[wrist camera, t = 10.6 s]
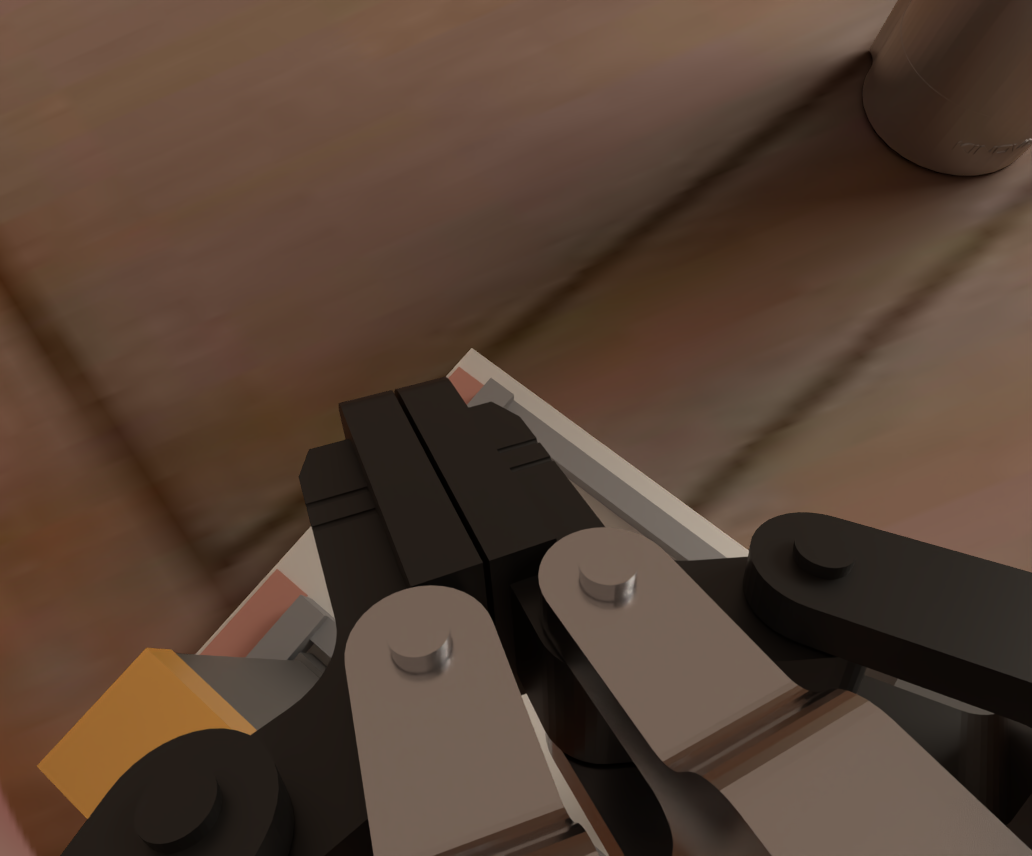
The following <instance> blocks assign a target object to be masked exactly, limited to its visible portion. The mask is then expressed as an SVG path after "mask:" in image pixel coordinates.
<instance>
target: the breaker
mask: <svg viewBox="0 0 1032 856" xmlns="http://www.w3.org/2000/svg"><path fill="white" fill-rule="evenodd" d="M326 668H327V666H326V665H325V664H324V663H322V662H321V661H320V660H319V659H318V658H317V657H316V656H315V655H313V654H311V653H301V652H300V653H299V654H298V655H297V656H296V657H295V659H294V660H277V659H261V658H245V657H228V656H212V655H195V654H179V653H175V652H174V651H172V650H170V649H156V648H146V649H145V650H144V651H143V652H142V653H141V654H140V655H139V656H138V657H137V659H136V660H135V661H134V662H133V663H132V664H131V665H130V666H129V667H128V668H127V669H126V670H125V671H124V673H123V674H122V675H121V676H120V677H119V678H118V679H117V680H116V681H115V682H114V683H113V684H112V685H111V687H110V688H109V689H108V690H107V691H106V692H105V693H104V694H103V695H102V696H101V697H100V698H99V700H98V701H97V702H96V703H95V704H94V705H93V706H92V707H91V708H90V709H89V710H88V711H87V712H86V714H85V715H84V716H83V717H82V718H81V719H80V720H79V721H78V722H77V723H76V724H75V725H74V726H73V728H72V729H71V730H70V731H69V732H68V733H67V734H66V735H65V736H64V737H63V738H62V739H61V740H60V742H59V743H58V744H57V745H56V746H55V747H54V748H53V749H52V750H51V751H50V752H49V753H48V754H47V756H46V757H45V758H44V759H43V760H42V761H41V762H40V763H39V764H38V765H37V767H38V768H39V769H40V770H41V771H42V772H43V773H44V774H45V775H46V776H47V778H48V779H49V780H50V781H51V782H52V783H53V784H54V785H55V786H56V787H57V788H58V789H59V790H60V791H61V792H62V793H63V794H64V795H65V796H66V797H67V798H68V800H69V801H70V802H71V803H72V804H73V805H74V806H75V807H76V808H77V809H78V810H79V811H80V812H81V813H82V814H83V815H84V816H85V817H86V818H87V819H88V818H89V817H90V815H91V814H92V812H93V811H94V810H95V808H96V807H97V806H98V804H99V803H100V802H101V800H102V799H103V798H104V796H105V795H106V794H107V792H108V791H109V790H110V789H111V787H112V786H113V785H114V784H115V783H116V781H117V780H118V779H119V778H120V777H121V776H122V775H123V774H124V773H125V772H126V771H127V770H128V769H129V768H130V767H131V766H132V765H133V764H134V763H136V762H137V761H138V760H140V759H141V758H142V757H144V756H145V755H146V754H147V753H149V752H150V751H152V750H154V749H155V748H157V747H159V746H160V745H162V744H164V743H166V742H168V741H170V740H172V739H174V738H176V737H179V736H182V735H185V734H188V733H191V732H194V731H199V730H205V729H216V728H225V729H232V730H238V731H240V732H243V733H246V734H248V735H251V734H253V733H254V732H256V731H257V730H258V729H260V728H261V727H263V726H264V725H266V724H267V723H269V722H270V721H271V720H273V719H274V718H276V717H277V716H279V715H280V714H281V713H283V712H284V711H286V710H287V709H289V708H290V707H291V706H292V705H294V704H295V703H296V702H297V701H299V700H300V699H301V698H302V697H303V696H304V695H305V694H306V693H307V692H308V691H309V690H310V689H311V688H312V687H313V686H314V685H315V683H316V682H317V681H318V680H319V678H320V677H321V676H322V674H323V673H324V671H325V669H326Z"/></svg>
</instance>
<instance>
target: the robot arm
mask: <svg viewBox="0 0 1032 856" xmlns="http://www.w3.org/2000/svg"><path fill="white" fill-rule="evenodd" d="M870 52H871V55H872V59H873V63H872V66H871V68H870V70H869V72H868V74H867V76H866V77H865V81H864V86H863V91H862V93H863V105H864V108H865V111H866V114H867V117H868V120H869V121H870V123H871V124H872V126H873V128H874V129H875V131H876V133H877V134H878V135H879V136H880V137H881V138H882V139H883V140H884V141H885V142H886V144H887V145H888V146H889V147H891V148H892V149H893V150H895V151H896V152H897V153H899V154H900V155H901V156H903V157H904V158H906V159H908V160H910V161H912V162H914V163H916V164H918V165H919V166H922V167H925V168H928V169H931V170H934V171H937V172H940V173H946V174H952V175H981V174H987V173H992V172H995V171H997V170H1000V169H1002V168H1004V167H1007V166H1008V165H1010V164H1011V163H1013V162H1014V161H1015V160H1017V159H1018V158H1019V157H1020V156H1021V155H1022V154H1023V153H1024V152H1025V151H1026V150H1027V149H1028V148H1029V147H1030V146H1031V145H1032V0H898V1H897V3H896V4H895V6H894V8H893V10H892V11H891V13H890V15H889V16H888V18H887V20H886V22H885V23H884V25H883V27H882V28H881V30H880V32H879V33H878V35H877V37H876V39H875V40H874V42H873V44H872V45H871V47H870ZM339 412H340V416H341V421H342V425H343V429H344V434H345V438H346V440H343V441H339V442H336V443H332V444H328V445H324V446H321V447H317V448H313V449H309V451H308V454H307V457H306V459H305V462H304V465H303V467H302V470H301V472H300V475H299V480H300V484H301V488H302V492H303V496H304V500H305V503H306V507H307V511H308V515H309V519H310V523H311V527H312V530H313V535H314V539H315V543H316V547H317V551H318V554H319V558H320V562H321V566H322V570H323V574H324V578H325V582H326V586H327V590H328V594H329V598H330V602H331V606H332V609H333V613H334V617H335V622H336V629H337V634H336V644H335V648H334V652H333V655H332V657H331V659H330V662H329V664H328V666H327V668H326V669H325V671H324V673H323V674H322V676H321V677H320V678H319V680H318V681H317V682H316V683H315V685H314V686H313V687H312V688H311V689H310V690H309V691H308V692H307V693H306V694H305V695H304V696H303V697H302V698H301V699H300V700H299V701H297V702H296V703H295V704H294V705H292V706H291V707H290V708H289V709H287V710H286V711H284V712H283V713H281V714H280V715H279V716H277V717H276V718H274V719H273V720H271V721H270V722H269V723H267V724H266V725H264V726H263V727H261V728H260V729H258V730H257V731H256V732H254V733H253V734H251V735H248V734H246V733H243V732H240V731H238V730H232V729H225V728H216V729H205V730H199V731H194V732H191V733H188V734H185V735H182V736H179V737H176V738H174V739H172V740H170V741H168V742H166V743H164V744H162V745H160V746H159V747H157V748H155V749H154V750H152V751H150V752H149V753H147V754H146V755H145V756H144V757H142V758H141V759H140V760H138V761H137V762H136V763H134V764H133V765H132V766H131V767H130V768H129V769H128V770H127V771H126V772H125V773H124V774H123V775H122V776H121V777H120V778H119V779H118V780H117V781H116V783H115V784H114V785H113V786H112V787H111V789H110V790H109V791H108V792H107V794H106V795H105V796H104V798H103V799H102V800H101V802H100V803H99V804H98V806H97V807H96V808H95V810H94V811H93V812H92V814H91V815H90V817H89V818H88V819H87V821H86V822H85V823H84V825H83V826H82V827H81V829H80V830H79V831H78V833H77V834H76V835H75V837H74V838H73V839H72V841H71V842H70V843H69V845H68V846H67V847H66V849H65V850H64V851H63V853H62V854H61V855H60V856H599V855H598V852H597V850H596V848H595V846H594V844H593V842H592V841H591V839H590V837H589V835H588V834H587V832H586V831H585V829H584V828H583V827H582V825H580V824H579V823H576V822H573V821H572V819H571V818H570V817H569V815H568V813H567V811H566V809H565V807H564V805H563V803H562V800H561V798H560V795H559V793H558V790H557V788H556V785H555V782H554V780H553V777H552V775H551V772H550V769H549V767H548V764H547V761H546V759H545V756H544V754H543V751H542V748H541V746H540V743H539V741H538V738H537V735H536V733H535V730H534V728H533V725H532V722H531V720H530V717H529V715H528V712H527V709H526V707H525V704H524V702H523V699H522V695H524V694H527V696H528V698H529V700H530V702H531V704H532V706H533V708H534V710H535V712H536V714H537V716H538V718H539V720H540V722H541V724H542V726H543V728H544V730H545V735H546V742H547V746H548V750H549V752H550V754H551V756H552V758H553V760H554V762H555V763H556V765H557V767H558V769H559V770H560V772H561V774H562V775H563V777H564V779H565V781H566V782H567V784H568V786H569V788H570V789H571V791H572V793H573V794H574V796H575V798H576V800H577V801H578V803H579V805H580V806H581V808H582V810H583V812H584V813H585V815H586V817H587V819H588V820H589V822H590V824H591V825H592V827H593V829H594V831H595V832H596V834H597V836H598V837H599V839H600V841H601V843H602V844H603V846H604V848H605V850H606V851H607V853H608V855H609V856H1032V573H1031V572H1028V571H1024V570H1021V569H1017V568H1013V567H1010V566H1006V565H1003V564H999V563H996V562H992V561H989V560H985V559H982V558H978V557H974V556H971V555H967V554H964V553H960V552H957V551H953V550H950V549H946V548H943V547H939V546H935V545H932V544H928V543H925V542H921V541H918V540H914V539H911V538H907V537H903V536H900V535H896V534H893V533H889V532H886V531H882V530H879V529H875V528H872V527H868V526H864V525H861V524H857V523H854V522H850V521H847V520H843V519H840V518H836V517H832V516H828V515H824V514H817V513H800V512H798V513H789V514H784V515H780V516H777V517H774V518H772V519H769V520H768V521H766V522H765V523H763V524H762V525H761V526H760V527H759V528H758V529H757V530H756V531H755V533H754V535H753V537H752V540H751V544H750V549H749V554H748V557H734V558H720V559H705V560H686V561H678V560H673V559H672V558H671V557H670V556H669V555H668V554H667V553H666V552H665V551H664V550H663V549H662V548H661V547H660V546H659V545H657V544H656V543H655V542H653V541H651V540H650V539H648V538H646V537H644V536H642V535H640V534H638V533H635V532H632V531H628V530H624V529H619V528H609V527H605V526H604V524H603V523H602V522H601V520H600V519H599V518H598V517H597V515H596V514H595V513H594V511H593V510H592V509H591V508H590V506H589V505H588V504H587V502H586V501H585V500H584V499H583V497H582V496H581V495H580V493H579V492H578V491H577V490H576V488H575V487H574V486H573V484H572V483H571V482H570V481H569V479H568V478H567V477H566V475H565V474H564V473H563V471H562V470H561V469H560V468H559V466H558V465H557V464H556V462H555V461H552V460H551V457H550V455H549V453H548V452H547V451H546V450H545V448H544V447H543V446H542V444H541V443H540V442H539V443H538V442H537V438H536V437H535V435H534V434H533V433H532V431H531V430H530V429H529V428H528V426H527V425H526V424H525V422H524V421H523V420H522V419H521V417H520V416H518V415H516V414H514V413H513V412H511V411H509V410H507V409H505V408H503V407H501V406H499V405H497V404H495V403H494V402H492V401H491V402H487V403H484V404H480V405H476V406H472V407H469V408H468V406H467V405H466V403H465V402H464V400H463V399H462V397H461V396H460V394H459V393H458V391H457V390H456V388H455V387H454V385H453V384H452V382H451V381H450V380H449V379H448V378H447V377H443V378H439V379H435V380H431V381H427V382H423V383H419V384H415V385H411V386H407V387H403V388H399V389H395V391H394V393H393V391H391V390H390V391H386V392H382V393H378V394H374V395H370V396H366V397H362V398H358V399H354V400H350V401H346V402H342V403H339ZM867 668H870V669H872V670H875V671H878V672H881V673H884V674H886V675H889V676H892V677H895V678H897V679H900V680H903V681H906V682H908V683H911V684H914V685H917V686H920V687H922V688H925V689H928V690H931V691H933V692H936V693H939V694H942V695H944V696H947V697H950V698H953V699H955V700H958V701H961V702H964V703H967V704H969V705H972V706H975V707H978V708H980V709H983V710H986V711H989V712H991V713H994V714H990V715H979V714H973V713H968V712H965V711H961V710H959V709H956V708H953V707H951V706H948V705H945V704H942V703H940V702H937V701H934V700H931V699H929V698H926V697H923V696H921V695H918V694H915V693H912V692H910V691H907V690H904V689H901V688H899V687H896V686H893V685H890V684H888V683H885V682H882V681H880V680H877V679H874V678H871V677H869V676H866V675H864V674H865V671H866V669H867Z"/></svg>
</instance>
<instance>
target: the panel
mask: <svg viewBox="0 0 1032 856" xmlns="http://www.w3.org/2000/svg"><path fill="white" fill-rule="evenodd" d="M446 377H447V378H448V379H449V380H450V381H451V382H452V384H453V385H454V387H455V388H456V390H457V391H458V393H459V394H460V396H461V397H462V399H463V400H464V402H465V403H466V405H467V406H468V408H469V407H472V406H476V405H480V404H484V403H487V402H491V401H492V402H494V403H495V404H497V405H499V406H501V407H503V408H505V409H507V410H509V411H511V412H513V413H514V414H516V415H518V416H520V417H521V419H522V420H523V421H524V422H525V424H526V425H527V426H528V428H529V429H530V430H531V431H532V433H533V434H534V435H535V437H536V438H537V442H538V443H539V442H540V443H541V444H542V446H543V447H544V448H545V450H546V451H547V452H548V453H549V455H550V457H551V460H552V461H555V462H556V464H557V465H558V466H559V468H560V469H561V470H562V471H563V473H564V474H565V475H566V477H567V478H568V479H569V481H570V482H571V483H572V484H573V486H574V487H575V488H576V490H577V491H578V492H579V493H580V495H581V496H582V497H583V499H584V500H585V501H586V502H587V504H588V505H589V506H590V508H591V509H592V510H593V511H594V513H595V514H596V515H597V517H598V518H599V519H600V520H601V522H602V523H603V524H604V526H605V527H609V528H619V529H624V530H628V531H632V532H635V533H638V534H640V535H642V536H644V537H646V538H648V539H650V540H651V541H653V542H655V543H656V544H657V545H659V546H660V547H661V548H662V549H663V550H664V551H665V552H666V553H667V554H668V555H669V556H670V557H671V558H672V559H673V560H678V561H686V560H705V559H720V558H734V557H748V554H749V551H748V550H747V549H746V548H744V547H743V546H742V545H740V544H739V543H738V542H736V541H735V540H733V539H732V538H731V537H729V536H728V535H727V534H725V533H724V532H722V531H721V530H720V529H718V528H717V527H716V526H714V525H713V524H712V523H710V522H709V521H707V520H706V519H705V518H703V517H702V516H701V515H699V514H698V513H697V512H695V511H694V510H692V509H691V508H690V507H688V506H687V505H686V504H684V503H683V502H682V501H680V500H679V499H677V498H676V497H675V496H673V495H672V494H671V493H669V492H668V491H666V490H665V489H664V488H662V487H661V486H660V485H658V484H657V483H656V482H654V481H653V480H651V479H650V478H649V477H647V476H646V475H645V474H643V473H642V472H641V471H639V470H638V469H636V468H635V467H634V466H632V465H631V464H630V463H628V462H627V461H626V460H624V459H623V458H621V457H620V456H619V455H617V454H616V453H615V452H613V451H612V450H610V449H609V448H608V447H606V446H605V445H604V444H602V443H601V442H600V441H598V440H597V439H595V438H594V437H593V436H591V435H590V434H589V433H587V432H586V431H585V430H583V429H582V428H580V427H579V426H578V425H576V424H575V423H574V422H572V421H571V420H570V419H568V418H567V417H565V416H564V415H563V414H561V413H560V412H559V411H557V410H556V409H555V408H553V407H552V406H550V405H549V404H548V403H546V402H545V401H544V400H542V399H541V398H539V397H538V396H537V395H535V394H534V393H533V392H531V391H530V390H529V389H527V388H526V387H524V386H523V385H522V384H520V383H519V382H518V381H516V380H515V379H514V378H512V377H511V376H509V375H508V374H507V373H505V372H504V371H503V370H501V369H500V368H499V367H497V366H496V365H494V364H493V363H492V362H490V361H489V360H488V359H486V358H485V357H483V356H482V355H481V354H479V353H478V352H477V351H475V350H474V349H473V348H471V349H470V350H469V352H468V353H467V354H466V355H465V356H464V357H463V358H462V359H461V360H460V361H459V363H458V364H457V365H456V366H455V367H454V368H453V369H452V370H451V371H450V373H449V374H448V375H447V376H446ZM336 634H337V629H336V622H335V617H334V613H333V609H332V606H331V602H330V598H329V594H328V590H327V586H326V582H325V578H324V574H323V570H322V566H321V562H320V558H319V554H318V551H317V547H316V543H315V539H314V535H313V530H312V527H310V528H309V529H308V530H307V531H306V532H305V533H304V534H303V536H302V537H301V538H300V539H299V540H298V541H297V542H296V543H295V544H294V546H293V547H292V548H291V549H290V550H289V551H288V552H287V553H286V554H285V556H284V557H283V558H282V559H281V560H280V561H279V562H278V563H277V564H276V566H275V567H274V568H273V569H272V570H271V571H270V572H269V573H268V574H267V576H266V577H265V578H264V579H263V580H262V581H261V582H260V583H259V584H258V586H257V587H256V588H255V589H254V590H253V591H252V592H251V593H250V594H249V595H248V597H247V598H246V599H245V600H244V601H243V602H242V603H241V604H240V605H239V607H238V608H237V609H236V610H235V611H234V612H233V613H232V614H231V615H230V617H229V618H228V619H227V620H226V621H225V622H224V623H223V624H222V625H221V627H220V628H219V629H218V630H217V631H216V632H215V633H214V634H213V635H212V637H211V638H210V639H209V640H208V641H207V642H206V643H205V644H204V645H203V646H202V648H201V649H200V650H199V651H198V652H197V653H196V654H195V655H212V656H228V657H245V658H261V659H277V660H294V659H295V657H296V656H297V655H298V654H299V653H300V652H301V653H311V654H313V655H315V656H316V657H317V658H318V659H319V660H320V661H321V662H322V663H324V664H325V665H326V666H328V664H329V662H330V659H331V657H332V655H333V652H334V648H335V644H336ZM864 675H866V676H869V677H871V678H874V679H877V680H880V681H882V682H885V683H888V684H890V685H893V686H896V687H899V688H901V689H904V690H907V691H910V692H912V693H915V694H918V695H921V696H923V697H926V698H929V699H931V700H934V701H937V702H940V703H942V704H945V705H948V706H951V707H953V708H956V709H959V710H961V711H965V712H968V713H973V714H979V715H990V714H994V713H991V712H989V711H986V710H983V709H980V708H978V707H975V706H972V705H969V704H967V703H964V702H961V701H958V700H955V699H953V698H950V697H947V696H944V695H942V694H939V693H936V692H933V691H931V690H928V689H925V688H922V687H920V686H917V685H914V684H911V683H908V682H906V681H903V680H900V679H897V678H895V677H892V676H889V675H886V674H884V673H881V672H878V671H875V670H872V669H870V668H867V669H866V671H865V674H864ZM522 699H523V702H524V704H525V707H526V709H527V712H528V715H529V717H530V720H531V722H532V725H533V728H534V730H535V733H536V735H537V738H538V741H539V743H540V746H541V748H542V751H543V754H544V756H545V759H546V761H547V764H548V767H549V769H550V772H551V775H552V777H553V780H554V782H555V785H556V788H557V790H558V793H559V795H560V798H561V800H562V803H563V805H564V807H565V809H566V811H567V813H568V815H569V817H570V818H571V819H572V821H573V822H576V823H579V824H580V825H582V827H583V828H584V829H585V831H586V832H587V834H588V835H589V837H590V839H591V841H592V842H593V844H594V846H595V848H596V850H597V852H598V855H599V856H609V855H608V853H607V851H606V850H605V848H604V846H603V844H602V843H601V841H600V839H599V837H598V836H597V834H596V832H595V831H594V829H593V827H592V825H591V824H590V822H589V820H588V819H587V817H586V815H585V813H584V812H583V810H582V808H581V806H580V805H579V803H578V801H577V800H576V798H575V796H574V794H573V793H572V791H571V789H570V788H569V786H568V784H567V782H566V781H565V779H564V777H563V775H562V774H561V772H560V770H559V769H558V767H557V765H556V763H555V762H554V760H553V758H552V756H551V754H550V752H549V750H548V746H547V742H546V735H545V730H544V728H543V726H542V724H541V722H540V720H539V718H538V716H537V714H536V712H535V710H534V708H533V706H532V704H531V702H530V700H529V698H528V696H527V694H524V695H522Z"/></svg>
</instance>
